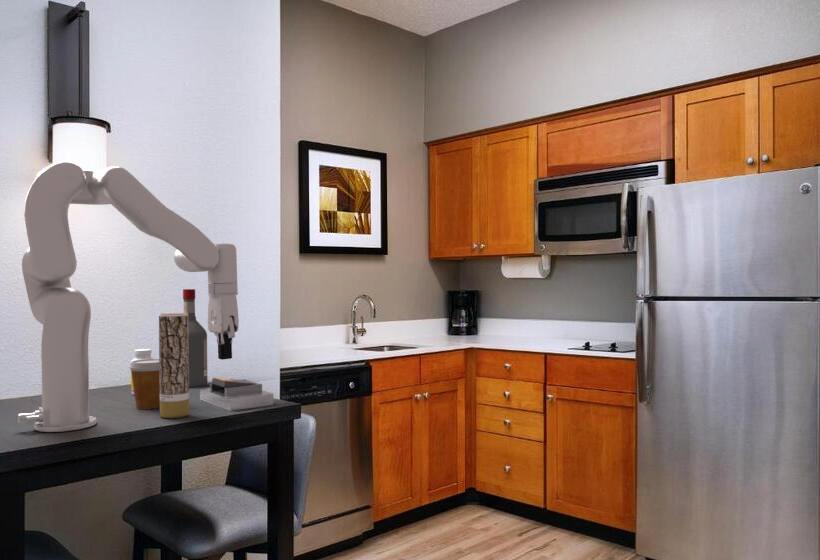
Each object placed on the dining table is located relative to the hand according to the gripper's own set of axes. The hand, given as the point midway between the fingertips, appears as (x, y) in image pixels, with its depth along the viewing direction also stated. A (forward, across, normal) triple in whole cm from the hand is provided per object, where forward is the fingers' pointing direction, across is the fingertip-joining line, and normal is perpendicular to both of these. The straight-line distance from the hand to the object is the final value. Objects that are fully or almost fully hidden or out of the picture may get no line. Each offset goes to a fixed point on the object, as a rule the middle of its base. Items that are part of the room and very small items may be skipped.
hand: (225, 358), depth 178 cm
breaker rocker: (+7, 0, +3) cm, 8 cm away
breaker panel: (+12, 0, +3) cm, 12 cm away
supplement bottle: (+12, -30, -12) cm, 35 cm away
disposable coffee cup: (+12, -9, -17) cm, 23 cm away
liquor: (+12, -36, +4) cm, 38 cm away
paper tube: (+12, +7, -16) cm, 21 cm away
